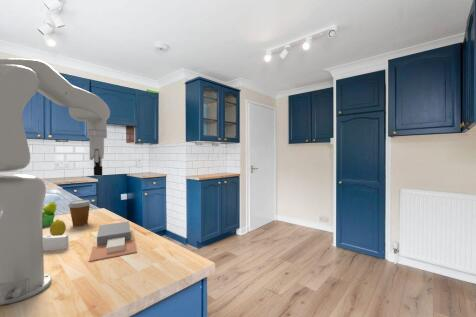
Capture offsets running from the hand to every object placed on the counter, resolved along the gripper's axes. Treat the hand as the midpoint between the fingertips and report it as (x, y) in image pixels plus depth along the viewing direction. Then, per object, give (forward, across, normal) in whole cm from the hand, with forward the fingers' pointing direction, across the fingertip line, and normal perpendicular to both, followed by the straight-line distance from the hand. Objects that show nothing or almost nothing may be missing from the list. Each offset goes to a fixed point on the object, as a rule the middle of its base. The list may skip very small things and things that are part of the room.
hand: (98, 175), depth 102 cm
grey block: (+27, +7, +6) cm, 29 cm away
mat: (+27, +22, +6) cm, 35 cm away
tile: (+27, +20, +7) cm, 34 cm away
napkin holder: (+28, +7, -16) cm, 33 cm away
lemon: (+27, -5, -16) cm, 32 cm away
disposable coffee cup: (+27, -22, -10) cm, 36 cm away
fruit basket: (+27, -32, -26) cm, 50 cm away
